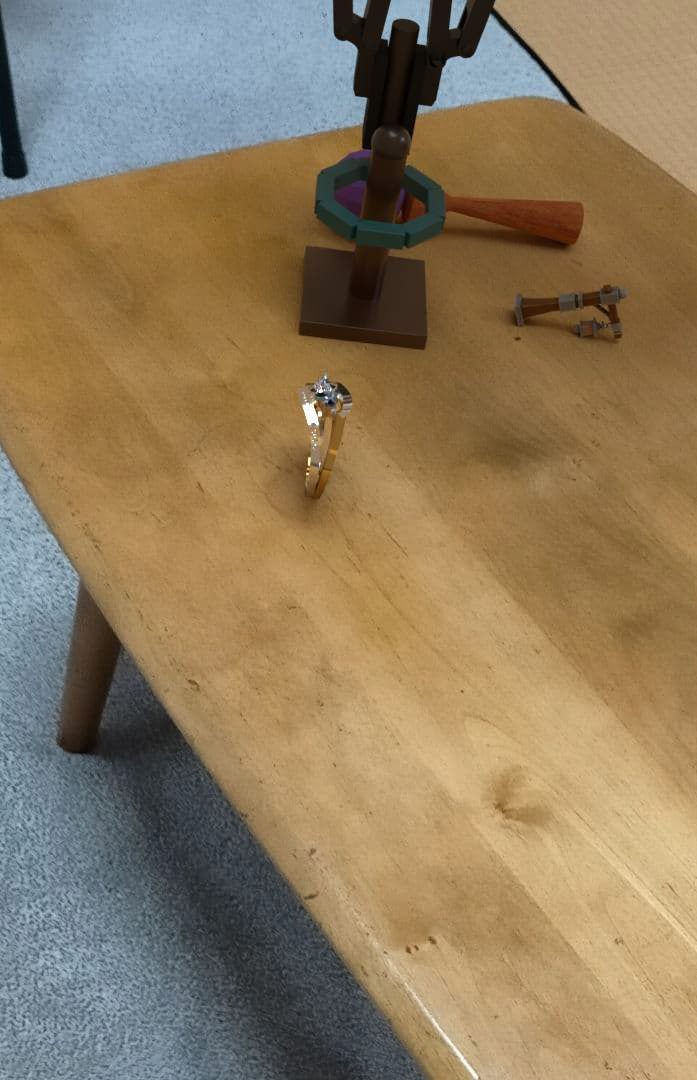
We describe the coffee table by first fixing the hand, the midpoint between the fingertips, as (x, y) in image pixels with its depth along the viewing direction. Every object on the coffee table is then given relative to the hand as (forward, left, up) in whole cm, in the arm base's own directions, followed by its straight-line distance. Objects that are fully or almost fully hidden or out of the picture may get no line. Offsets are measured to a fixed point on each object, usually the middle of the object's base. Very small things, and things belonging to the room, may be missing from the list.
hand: (385, 140), depth 85 cm
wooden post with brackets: (-15, +4, -11) cm, 19 cm away
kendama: (-7, -7, -11) cm, 15 cm away
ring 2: (0, +4, -3) cm, 5 cm away
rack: (0, +4, -11) cm, 12 cm away
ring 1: (+3, +23, -11) cm, 25 cm away
